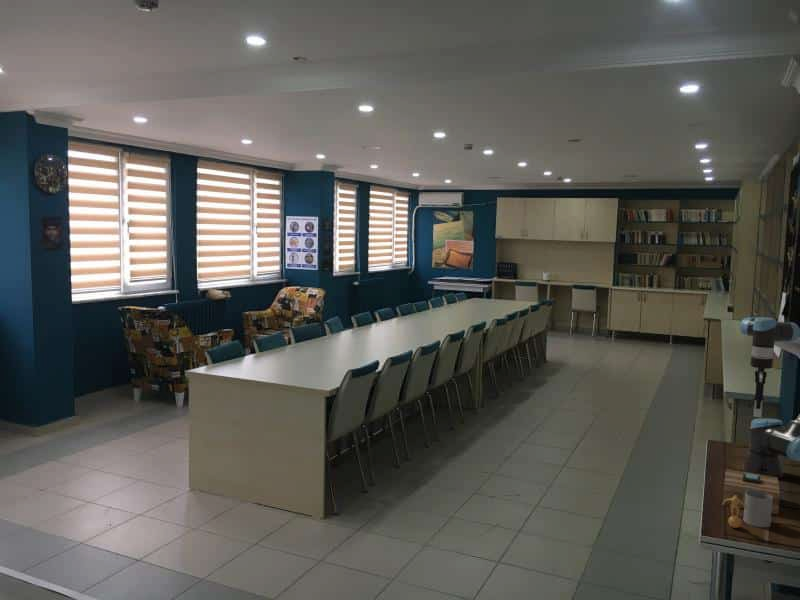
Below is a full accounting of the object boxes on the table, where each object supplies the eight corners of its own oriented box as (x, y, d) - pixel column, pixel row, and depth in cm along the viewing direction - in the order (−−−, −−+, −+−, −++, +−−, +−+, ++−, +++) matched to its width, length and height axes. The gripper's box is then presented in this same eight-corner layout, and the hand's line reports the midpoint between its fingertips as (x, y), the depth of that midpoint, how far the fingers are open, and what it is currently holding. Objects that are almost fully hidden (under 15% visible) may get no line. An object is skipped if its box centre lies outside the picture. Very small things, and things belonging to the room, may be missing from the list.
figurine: (749, 528, 229) (751, 494, 228) (745, 534, 224) (748, 500, 223) (722, 522, 234) (725, 488, 233) (718, 527, 229) (721, 493, 228)
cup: (739, 521, 235) (741, 494, 234) (748, 515, 241) (750, 488, 240) (766, 529, 229) (768, 501, 228) (773, 522, 235) (776, 495, 234)
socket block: (724, 488, 266) (725, 466, 265) (776, 497, 258) (778, 474, 257) (722, 504, 250) (724, 480, 249) (778, 514, 242) (780, 489, 241)
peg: (744, 494, 256) (745, 473, 256) (756, 496, 255) (757, 475, 254) (744, 497, 253) (745, 477, 252) (756, 499, 251) (757, 479, 250)
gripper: (751, 353, 269) (746, 411, 271) (751, 358, 257) (746, 418, 260) (772, 355, 266) (767, 414, 268) (773, 360, 254) (768, 421, 256)
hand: (757, 416), depth 264 cm, fingers closed
